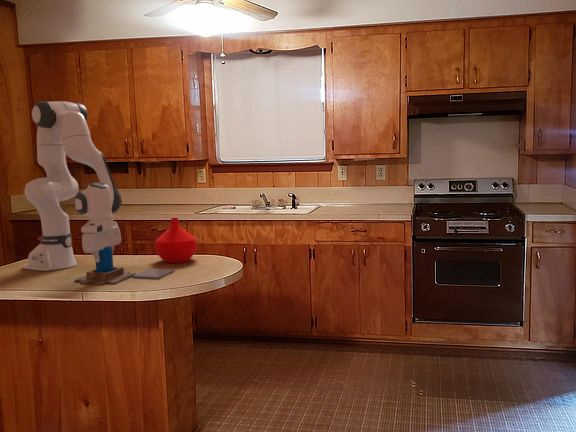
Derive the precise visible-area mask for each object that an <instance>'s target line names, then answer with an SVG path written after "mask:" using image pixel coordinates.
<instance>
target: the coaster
mask: <svg viewBox="0 0 576 432" xmlns="http://www.w3.org/2000/svg"><path fill="white" fill-rule="evenodd" d="M173 273H175V269H164V268H163V269H161V268H160V269H159V268H147V269H145V270H142V271H140V272H138V273H136V274H135V275H133V276H132V277H131V278H132V279H145V278H148V279H149V278H150V279H151V280H161V279H162V277H163V278H165V277H167V276H169V275H171V274H173ZM168 274H169V275H168ZM166 275H167V276H166ZM164 276H165V277H164ZM160 278H161V279H160ZM150 279H149V280H150Z"/></svg>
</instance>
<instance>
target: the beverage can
mask: <svg viewBox="0 0 576 432" xmlns="http://www.w3.org/2000/svg"><path fill="white" fill-rule="evenodd" d="M98 255H99V257H101V261H100V262H95V269H96V272H106V273H108V272H110V271H113V270H114V269H113V267H114V255H113V256H112V248H111V245H110V246H107V247H104V249H103V250H100V251H99V254H98Z"/></svg>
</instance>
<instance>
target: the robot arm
mask: <svg viewBox="0 0 576 432" xmlns="http://www.w3.org/2000/svg"><path fill="white" fill-rule="evenodd" d="M88 117H89V115H88V110H87V108H86V106H85V105H84V104H82V103H79V102H70V101H65V100H63V101H62V100H59V101H56V100H55V101H44V100H42V101H38V102H36V103H34V104H33V107H32V108H31V120H32V122H33V123H34V124H35V125H36V126H37V131H36V158H37V163H38V164H39V166H41V167H42V168H43V169H44V171H45V174H46V177H39V178H35V179H33V180H31V181H28V182H27V183H26V184H25V187H24V196H25V198H26V199H27V201H28V202H29V203H31V204H32V205H33V206H34V207H35V209H36V210H37V212H38V215H39V218H40V222H41V229H42V230H41V232H42V235H41V236H37V240H38V241H39V244H38V245H37V246H36V247H35V248H34V249H32V250H31V251H30V252H29V253H28V257H27V258H28V261H27V262H28V263H26V264H23V266H22V269H25V270H33V271H39V272H41V271H42V272H49V271H55V270H62V269H69V268H72V267H75V266H77V265H78V263H77V260H76V258H75V257H76V256H75V255H74V250H73V245H72V244H73V238H72V237H73V236H72V232H71V227H70V219H69V218H70V216H69V215H68V213H66V212H64V210H62V207H61V205H60V203H59V202H63V201H68V200H70V199H73V207H74V210H75V211H76V212H77V214H80V215H81V216H88V221H87V222H86V223H85V224H84V225H82V227H81V228H80V231H81V233H83V234H82V235H81V244H82V250H83V252H84V253H85V254H91V255H92V256H93V259H94V262H95V263H96V262H100V261H101V257H99V255H98V254H99V251H100V250H103V249H104V247H107V246H110V245H111V248H112V256H113V257H114V254H113V253H114V251H115V246H117V245H121V242H122V235H121V230H120V227H119V225H118V222H116V221H114V214H115V213H116V212H118V211H119V210H120V208H121V206H122V203H123V201H122V195H121V193H120V192H119V190H118V188H117V186H116V184H115V181H114V179H113V176H112V173H111V170H110V169H109V166H108V163H107V161H106V158H105V155H104V154H103V153H102V151H100V150H99V149H97V148H96V145H94V143H93V141H92V137H91V132H90V128H89V126H88V123H87V122H88ZM66 157H68V158H69V159H70V160H73V161H75V162H77V163H80V164H83V165H86V166H88V167H90V168H92V169H93V170H94V171H95V173H96V175H97V178H98V180H99V182H91V183H89V184H88V185H87V188H86V189H84V190H82V191H79V183H78V181H77V180H76V179H75V178H74V177H73V175H71V172H70V170H69V168H68V164H67V158H66Z"/></svg>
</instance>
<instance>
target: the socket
mask: <svg viewBox="0 0 576 432" xmlns="http://www.w3.org/2000/svg"><path fill="white" fill-rule="evenodd" d="M113 269H114V270H113V271H110V272H108V273H106V272H96V268H94V269H91V270H89V271H86V275H84V276H81V277H78V278H76V279H74V283H79V284H80V285H94V286H105V285H106V284H107V285H116V284H119V283H122V282H123V281H125V280H128V279H130V278H132V276H133V275H135V274H137V273H135V272H130V271H124V270H125V269H124V267H122V266H113Z"/></svg>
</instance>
